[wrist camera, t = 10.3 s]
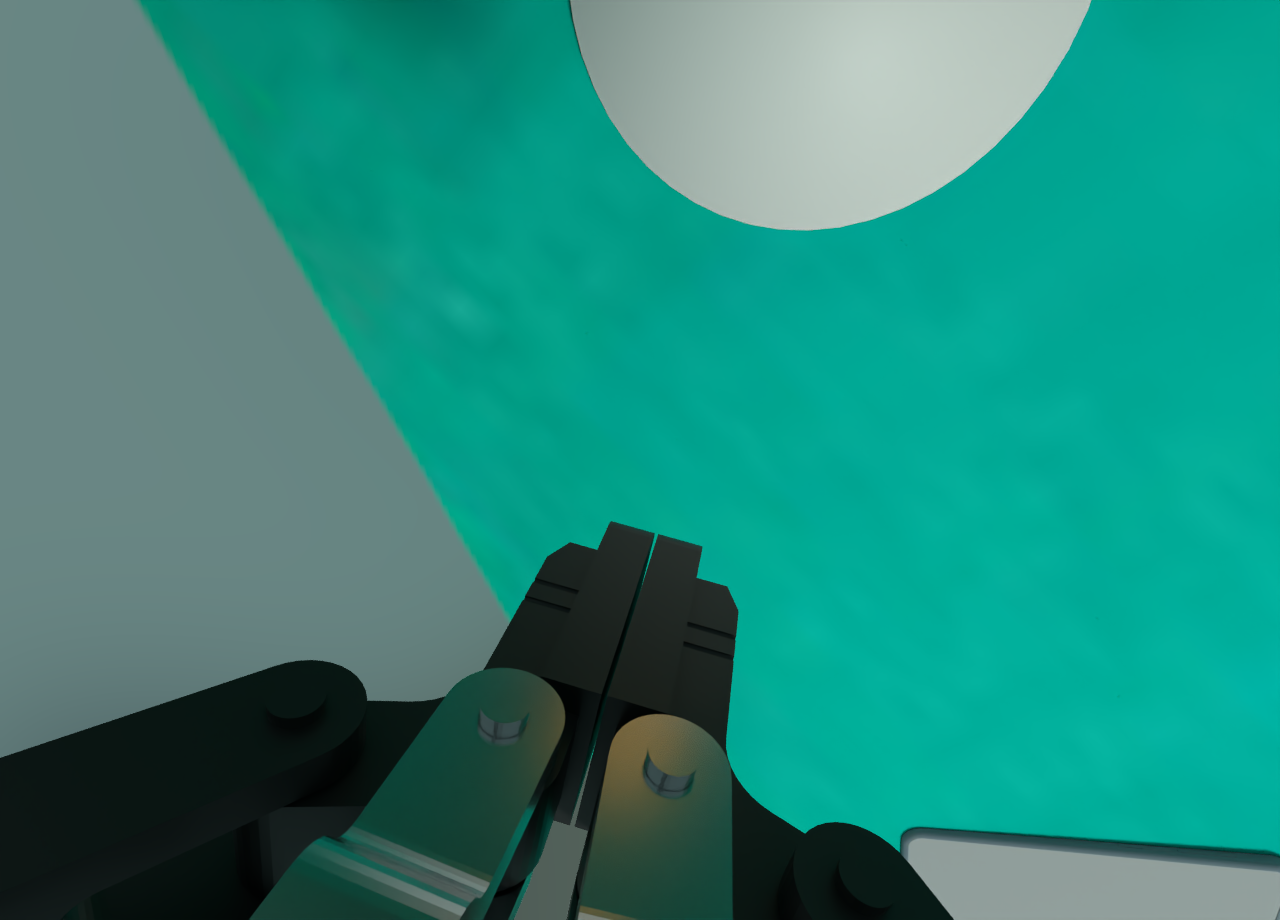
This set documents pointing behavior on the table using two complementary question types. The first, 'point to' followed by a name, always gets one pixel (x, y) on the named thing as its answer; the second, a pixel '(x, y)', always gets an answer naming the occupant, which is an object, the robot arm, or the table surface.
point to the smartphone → (1089, 879)
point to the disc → (818, 95)
